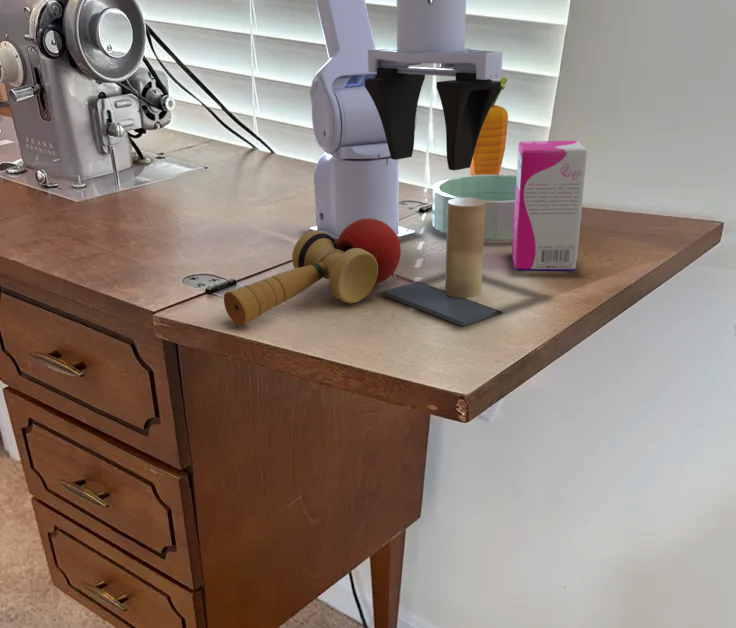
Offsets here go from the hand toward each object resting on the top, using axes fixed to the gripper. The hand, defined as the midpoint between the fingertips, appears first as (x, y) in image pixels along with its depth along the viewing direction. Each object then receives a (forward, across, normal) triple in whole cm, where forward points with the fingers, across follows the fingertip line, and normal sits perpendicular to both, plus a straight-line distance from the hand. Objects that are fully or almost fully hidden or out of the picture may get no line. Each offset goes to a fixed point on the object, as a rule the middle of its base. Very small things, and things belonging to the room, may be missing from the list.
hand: (429, 163), depth 71 cm
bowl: (+10, +8, -17) cm, 21 cm away
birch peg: (+10, -6, +2) cm, 12 cm away
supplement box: (+11, -6, -10) cm, 16 cm away
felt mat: (+10, -6, +2) cm, 12 cm away
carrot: (+10, +18, -26) cm, 33 cm away
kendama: (+11, +2, +12) cm, 16 cm away
